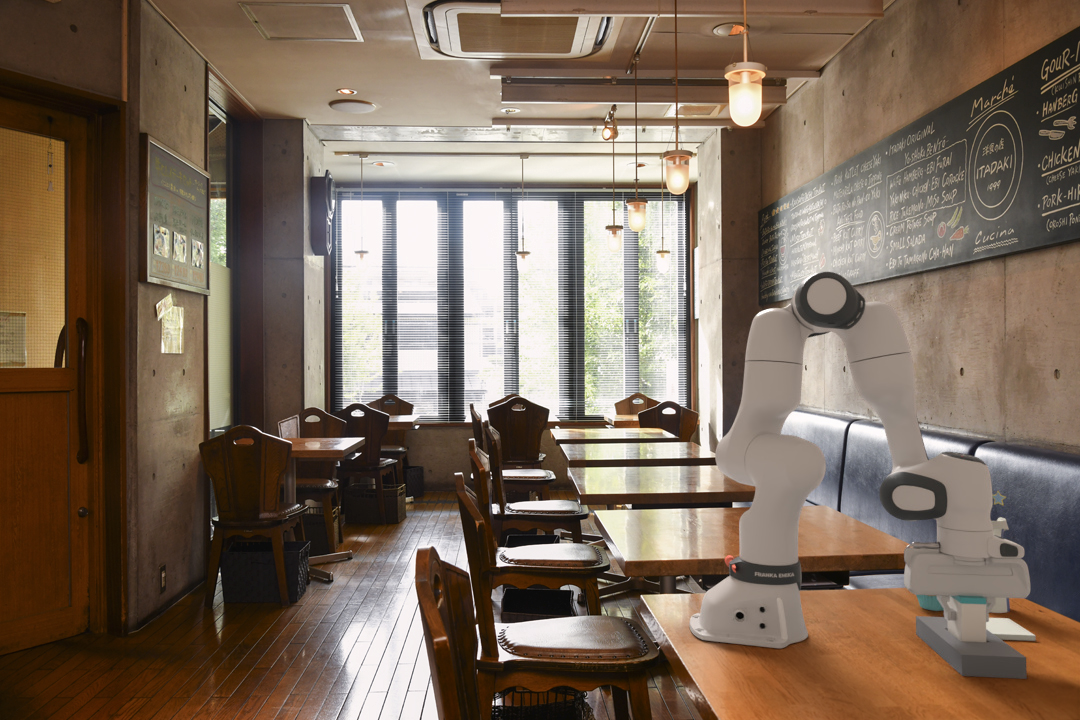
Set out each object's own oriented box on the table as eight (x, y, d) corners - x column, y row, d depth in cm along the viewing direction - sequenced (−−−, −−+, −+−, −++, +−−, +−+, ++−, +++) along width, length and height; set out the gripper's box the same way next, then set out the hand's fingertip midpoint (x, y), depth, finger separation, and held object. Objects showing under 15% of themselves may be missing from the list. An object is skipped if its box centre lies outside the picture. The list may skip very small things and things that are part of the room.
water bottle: (968, 598, 164) (966, 487, 164) (1013, 606, 158) (1011, 491, 159) (961, 607, 157) (959, 491, 158) (1008, 615, 152) (1005, 495, 153)
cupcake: (902, 602, 161) (901, 548, 162) (938, 601, 162) (937, 547, 162) (927, 614, 153) (926, 557, 153) (964, 613, 154) (963, 556, 154)
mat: (979, 638, 138) (979, 633, 138) (956, 621, 148) (956, 616, 148) (1035, 640, 137) (1035, 635, 137) (1008, 623, 147) (1008, 618, 147)
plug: (962, 660, 128) (961, 597, 128) (947, 648, 134) (946, 588, 134) (987, 661, 127) (986, 598, 127) (971, 649, 133) (970, 588, 133)
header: (962, 675, 121) (961, 654, 121) (916, 634, 141) (915, 616, 141) (1026, 678, 120) (1026, 657, 120) (971, 636, 140) (970, 618, 140)
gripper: (910, 545, 129) (911, 623, 129) (1034, 548, 126) (1036, 628, 126) (897, 537, 135) (898, 612, 135) (1015, 540, 133) (1017, 616, 132)
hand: (966, 620), depth 130 cm, fingers closed on plug, 4 cm apart
